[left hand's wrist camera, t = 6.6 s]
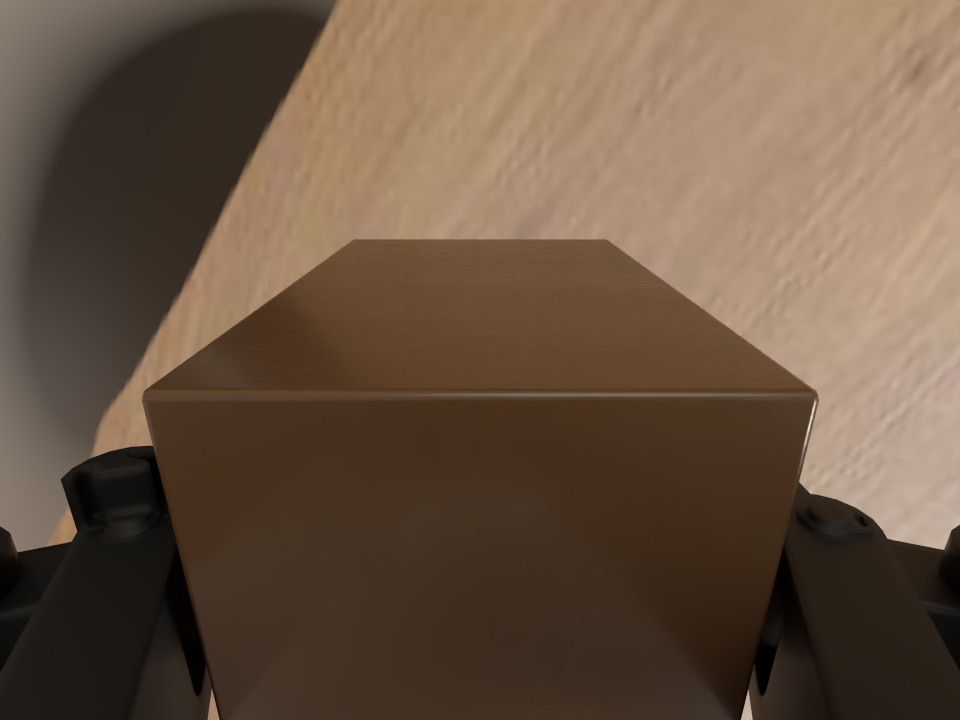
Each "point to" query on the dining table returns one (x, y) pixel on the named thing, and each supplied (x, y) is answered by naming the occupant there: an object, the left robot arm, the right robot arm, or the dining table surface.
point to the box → (480, 490)
